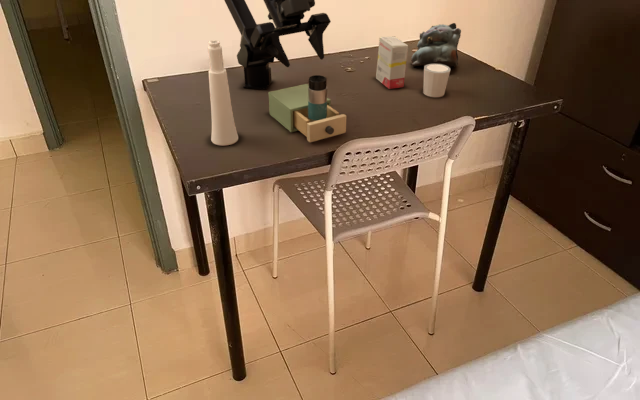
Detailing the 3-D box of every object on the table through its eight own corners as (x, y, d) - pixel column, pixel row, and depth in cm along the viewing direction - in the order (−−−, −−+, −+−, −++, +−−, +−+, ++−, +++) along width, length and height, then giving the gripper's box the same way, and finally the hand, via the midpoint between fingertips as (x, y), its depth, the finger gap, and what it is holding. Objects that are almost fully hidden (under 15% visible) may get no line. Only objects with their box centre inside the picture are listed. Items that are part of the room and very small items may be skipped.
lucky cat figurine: (401, 65, 152) (407, 18, 151) (425, 72, 160) (431, 28, 159) (443, 64, 141) (450, 13, 140) (466, 72, 150) (473, 23, 148)
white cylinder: (449, 90, 137) (453, 65, 133) (443, 100, 132) (447, 74, 128) (424, 86, 140) (427, 61, 136) (417, 95, 135) (420, 69, 131)
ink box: (404, 87, 139) (409, 44, 132) (388, 89, 138) (392, 46, 131) (391, 76, 146) (394, 35, 139) (375, 78, 144) (378, 36, 137)
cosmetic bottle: (238, 132, 116) (229, 36, 104) (238, 145, 111) (228, 46, 99) (212, 133, 116) (199, 37, 103) (210, 146, 111) (197, 47, 98)
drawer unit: (330, 122, 121) (330, 99, 118) (291, 132, 117) (290, 109, 113) (307, 105, 129) (307, 83, 126) (269, 114, 124) (268, 92, 121)
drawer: (348, 134, 114) (349, 117, 112) (312, 144, 110) (312, 127, 108) (322, 115, 122) (322, 99, 120) (287, 124, 118) (287, 107, 116)
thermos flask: (306, 128, 114) (306, 81, 108) (309, 120, 118) (309, 74, 111) (325, 130, 114) (325, 82, 107) (327, 121, 117) (328, 75, 111)
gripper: (251, -15, 105) (281, 50, 103) (325, -25, 114) (354, 35, 112) (238, 17, 115) (266, 77, 113) (307, 6, 124) (334, 61, 122)
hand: (306, 62), depth 115 cm, fingers open, 9 cm apart
